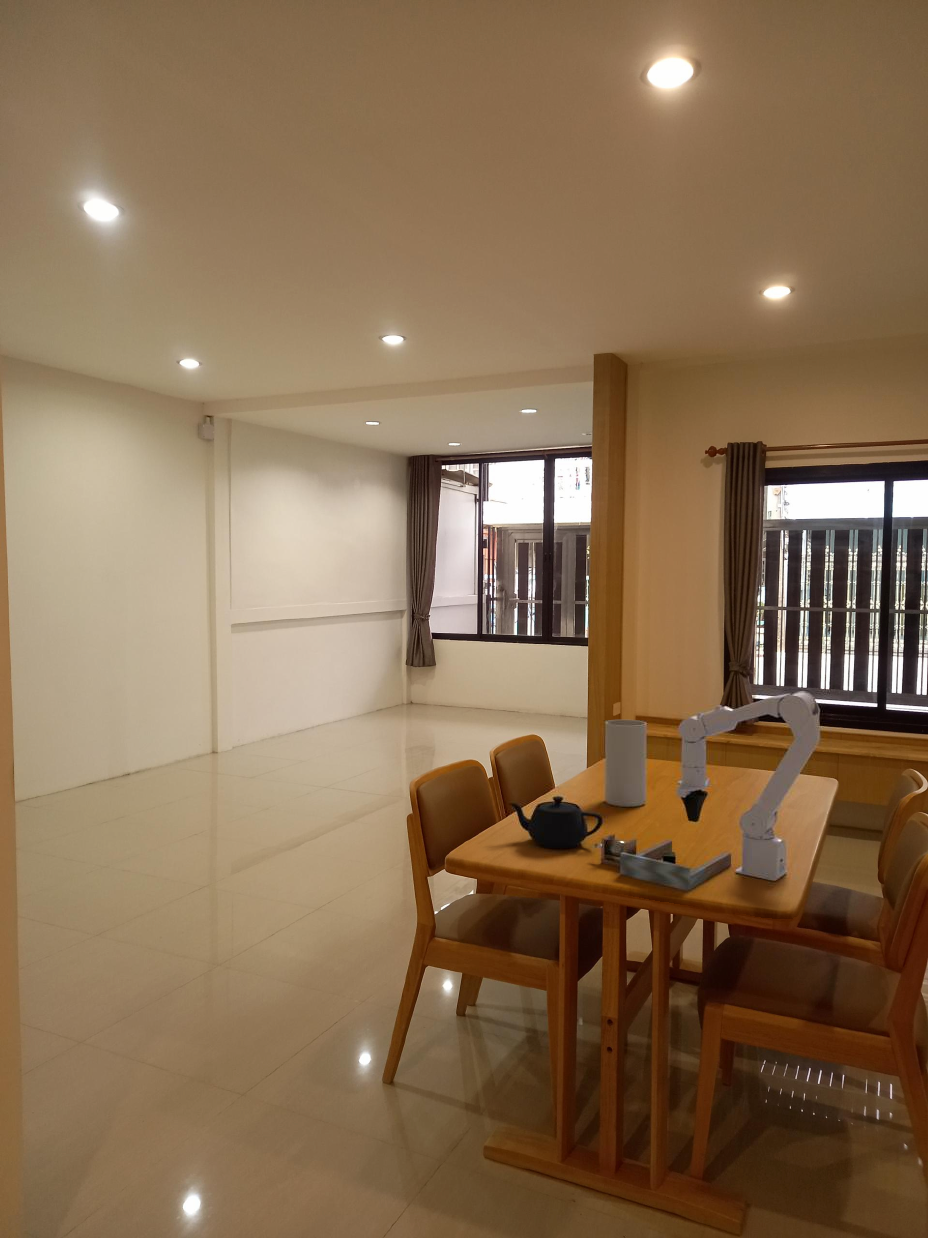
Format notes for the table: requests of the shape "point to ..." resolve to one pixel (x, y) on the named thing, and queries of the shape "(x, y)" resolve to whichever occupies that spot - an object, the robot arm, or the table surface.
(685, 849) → the table surface
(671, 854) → the black holder block
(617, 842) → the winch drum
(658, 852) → the bay
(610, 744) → the cylinder vase
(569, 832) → the teapot
